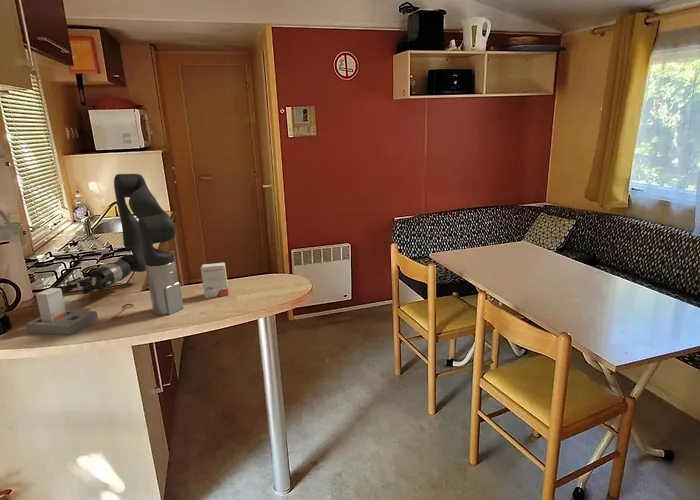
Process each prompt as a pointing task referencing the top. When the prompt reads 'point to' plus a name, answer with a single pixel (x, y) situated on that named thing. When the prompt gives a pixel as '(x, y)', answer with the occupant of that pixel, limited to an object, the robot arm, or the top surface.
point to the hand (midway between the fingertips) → (73, 291)
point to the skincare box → (51, 305)
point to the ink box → (214, 280)
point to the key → (120, 313)
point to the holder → (64, 323)
